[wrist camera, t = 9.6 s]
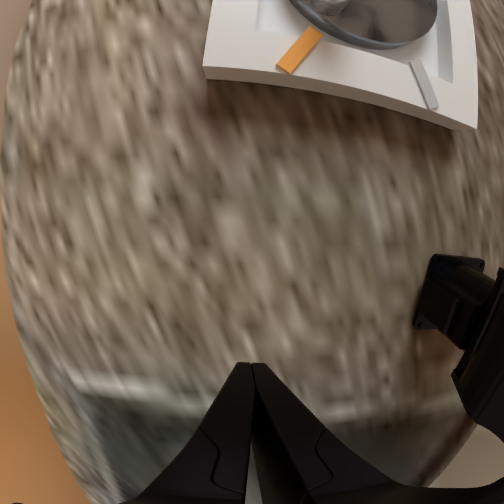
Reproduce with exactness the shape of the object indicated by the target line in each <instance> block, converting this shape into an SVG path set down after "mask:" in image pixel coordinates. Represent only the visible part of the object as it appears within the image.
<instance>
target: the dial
mask: <svg viewBox="0 0 504 504" xmlns="http://www.w3.org/2000/svg"><path fill="white" fill-rule="evenodd" d="M289 1H290V2H291V3H292V4H293V6H294V7H295V8H296V9H297V10H298V11H299V12H300V13H301V14H302V15H303V16H304V17H305V18H306V19H307V20H308V21H310V22H311V23H312V24H314V25H315V26H316V27H318V28H319V29H321V30H323V31H324V32H326V33H327V34H329V35H331V36H333V37H335V38H337V39H339V40H342V41H344V42H347V43H349V44H352V45H356V46H359V47H363V48H368V49H377V50H389V49H395V48H399V47H402V46H405V45H407V44H409V43H411V42H413V41H414V40H416V39H418V38H420V37H422V36H424V35H425V34H426V33H427V32H429V30H430V29H431V28H432V27H433V25H434V23H435V21H436V17H437V9H438V5H437V0H289Z"/></svg>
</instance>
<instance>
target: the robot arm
mask: <svg viewBox="0 0 504 504" xmlns="http://www.w3.org/2000/svg"><path fill="white" fill-rule="evenodd" d="M437 259H438V261H437V262H436V260H437ZM484 266H485V261H484V260H482V259H480V258H472V257H463V256H454V255H444V254H434V255H433V256H432V258H431V261H430V265H429V269H428V273H427V277H426V280H425V284H424V287H423V291H422V294H421V298H420V301H419V304H418V308H417V311H416V314H415V317H414V320H413V324H412V325H413V327H414V328H415V329H417V330H421V329H438V330H439V331H440V332H441V333H442V334H444V335H445V336H447V337H448V338H449V339H450V340H451V341H452V342H453V343H454V344H455V345H456V346H457V347H458V348H459V349H462V350H463V351H464V354H463V356H462V358H461V359H460V361H459V363H458V365H457V367H456V369H454V370H453V372H452V374H451V377H452V379H453V382H454V384H455V386H456V389H457V391H458V393H459V396H460V398H461V402H462V403H463V406H464V408H465V410H466V412H467V414H468V416H469V417H471V418H472V419H473V420H474V422H475V423H477V424H479V425H481V426H483V427H485V428H487V429H488V430H490V431H491V432H493V433H494V434H495V435H497V437H499V438H500V439H501V440H502V441H503V442H504V268H501V267H499V270H498V272H497V275H498V276H497V279H496V281H495V280H494V279H492V278H490V277H489V276H487V275H485V274H483V270H484ZM418 323H419V324H418ZM417 324H418V325H417ZM251 443H252V449H253V454H254V460H255V465H256V471H257V476H258V481H259V487H260V492H261V497H262V502H263V504H504V477H503V478H501V479H499V480H497V481H496V482H494V483H492V484H489V485H486V486H482V487H477V488H428V487H413V486H407V485H403V484H401V483H398V482H396V481H394V480H392V479H391V478H389V477H387V476H386V475H385V474H383V473H382V472H380V471H379V470H377V469H376V468H375V467H373V466H372V465H370V464H369V463H368V462H366V461H365V460H364V459H362V458H361V457H359V456H358V455H357V454H356V453H354V452H353V451H352V450H351V449H349V448H348V447H347V446H346V445H344V444H343V443H342V442H341V441H340V440H339V439H338V438H337V437H336V436H335V435H334V434H333V433H332V432H331V431H330V430H329V429H328V428H326V427H325V426H324V425H323V424H322V423H321V422H320V421H319V420H318V419H317V418H316V417H315V415H314V414H313V413H312V412H311V411H310V410H309V409H308V408H307V407H306V406H305V405H304V404H303V403H302V402H301V401H300V400H299V399H298V398H297V397H296V396H295V395H294V394H293V393H292V392H291V391H290V390H289V389H288V387H287V386H286V385H285V384H284V383H283V382H282V381H281V380H280V379H279V378H278V377H277V376H276V375H275V374H274V372H273V371H272V370H271V369H270V368H269V367H268V366H267V365H266V364H265V363H252V364H251V363H249V362H237V363H236V365H235V367H234V368H233V370H232V372H231V373H230V375H229V377H228V378H227V380H226V382H225V383H224V385H223V387H222V388H221V390H220V392H219V393H218V395H217V397H216V398H215V400H214V401H213V403H212V405H211V406H210V408H209V410H208V411H207V413H206V414H205V416H204V418H203V419H202V421H201V422H200V424H199V426H198V428H197V429H196V430H195V432H194V433H193V435H192V436H191V438H190V439H189V441H188V442H187V443H186V445H185V446H184V448H183V449H182V450H181V451H180V453H179V454H178V455H177V456H176V457H175V458H174V460H173V461H172V462H171V463H170V464H169V465H168V466H167V467H166V468H165V469H164V470H163V471H162V472H161V473H160V474H159V475H158V476H157V477H156V478H155V479H154V481H153V482H152V483H151V484H150V485H149V486H148V487H147V488H146V489H144V490H143V491H142V492H141V493H140V494H139V495H137V496H136V497H134V498H132V499H130V500H128V501H125V502H122V503H119V504H245V495H246V486H247V476H248V465H249V455H250V444H251ZM13 504H22V503H13Z"/></svg>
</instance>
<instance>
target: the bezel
mask: <svg viewBox="0 0 504 504" xmlns="http://www.w3.org/2000/svg"><path fill="white" fill-rule="evenodd" d="M437 5H438V9H437V17H436V21H435V23H434V25H433V27H432V28H431V29H430V30H429V32H427V33H426V34H425V35H424V36H422V37H420V38H418V39H416V40H414V41H413V42H411V43H409V44H407V45H405V46H402V47H399V48H395V49H389V50H377V49H368V48H363V47H359V46H356V45H352V44H349V43H347V42H344V41H342V40H339V39H337V38H335V37H333V36H331V35H329V34H327V33H326V32H324V31H323V30H321V29H319V28H318V27H316V26H315V25H314V24H312V23H311V22H310V21H308V20H307V19H306V18H305V17H304V16H303V15H302V14H301V13H300V12H299V11H298V10H297V9H296V8H295V7H294V6H293V4H292V3H291V2H290V1H289V0H213V3H212V9H211V14H210V20H209V26H208V32H207V39H206V45H205V52H204V59H203V69H204V72H205V75H206V79H215V80H230V81H241V82H252V83H261V84H269V85H276V86H284V87H290V88H297V89H303V90H308V91H314V92H319V93H325V94H330V95H334V96H339V97H344V98H348V99H352V100H357V101H361V102H365V103H369V104H373V105H377V106H380V107H384V108H387V109H391V110H394V111H398V112H401V113H404V114H408V115H411V116H414V117H417V118H420V119H423V120H426V121H429V122H432V123H435V124H438V125H440V126H443V127H446V128H449V129H451V130H464V129H477V118H478V77H477V58H476V45H475V35H474V27H473V19H472V13H471V7H470V1H469V0H437Z"/></svg>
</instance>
